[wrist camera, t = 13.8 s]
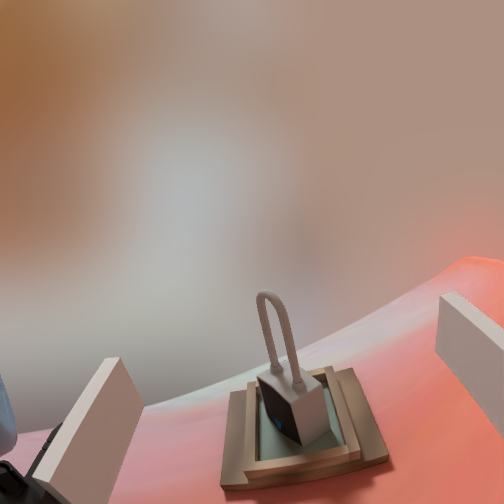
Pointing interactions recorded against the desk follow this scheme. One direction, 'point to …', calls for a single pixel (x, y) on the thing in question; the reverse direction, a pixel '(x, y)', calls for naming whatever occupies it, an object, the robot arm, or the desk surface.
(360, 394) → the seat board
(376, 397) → the desk surface
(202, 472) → the desk surface
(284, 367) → the padlock
